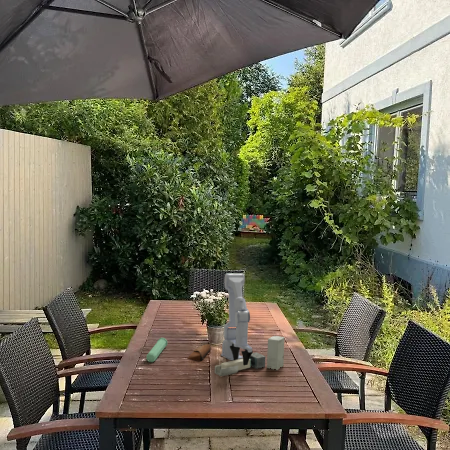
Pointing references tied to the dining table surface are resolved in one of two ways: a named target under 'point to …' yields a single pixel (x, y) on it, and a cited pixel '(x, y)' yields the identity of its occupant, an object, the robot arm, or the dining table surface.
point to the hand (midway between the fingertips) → (240, 362)
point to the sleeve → (226, 370)
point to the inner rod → (236, 362)
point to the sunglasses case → (200, 353)
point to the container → (156, 349)
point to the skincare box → (275, 352)
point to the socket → (257, 360)
